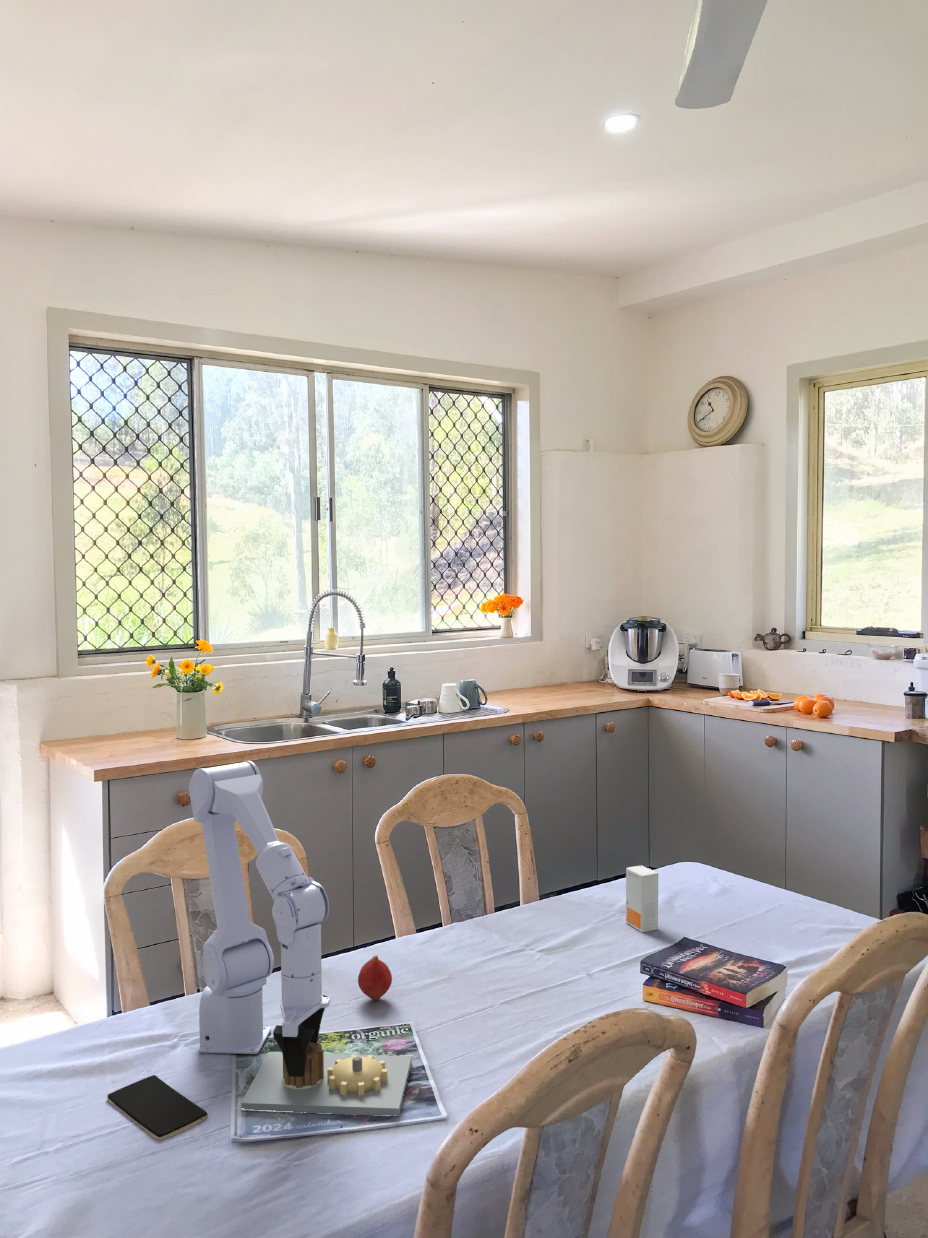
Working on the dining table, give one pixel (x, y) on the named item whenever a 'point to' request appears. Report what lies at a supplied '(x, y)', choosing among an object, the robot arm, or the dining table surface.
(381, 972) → the onion
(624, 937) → the dining table surface
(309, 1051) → the walnut gear
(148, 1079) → the smartphone
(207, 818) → the robot arm
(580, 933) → the dining table surface
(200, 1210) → the dining table surface
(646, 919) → the skincare box
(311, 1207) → the dining table surface
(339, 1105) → the gear board
